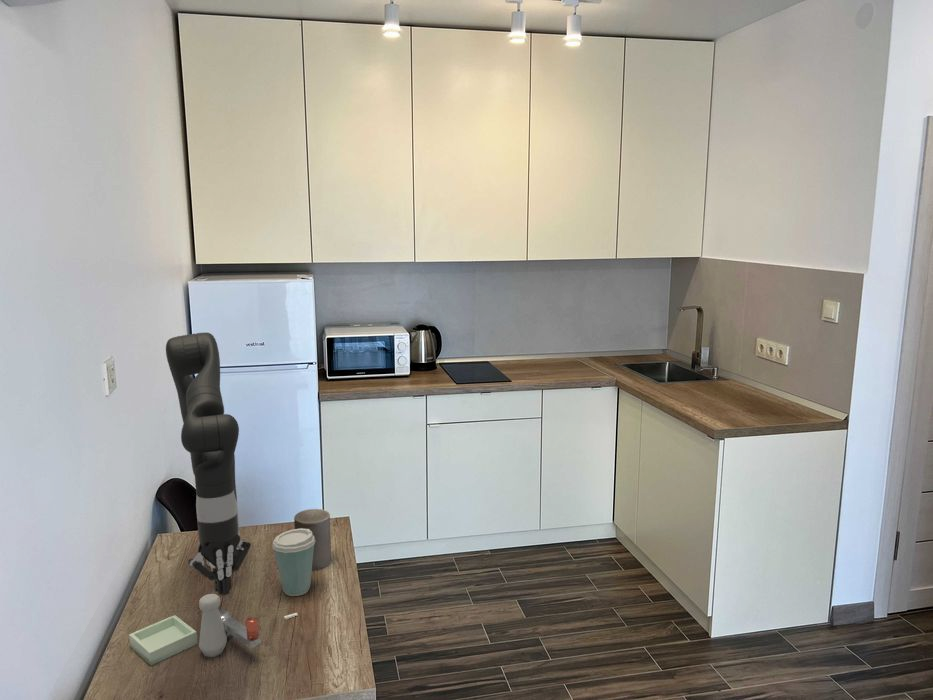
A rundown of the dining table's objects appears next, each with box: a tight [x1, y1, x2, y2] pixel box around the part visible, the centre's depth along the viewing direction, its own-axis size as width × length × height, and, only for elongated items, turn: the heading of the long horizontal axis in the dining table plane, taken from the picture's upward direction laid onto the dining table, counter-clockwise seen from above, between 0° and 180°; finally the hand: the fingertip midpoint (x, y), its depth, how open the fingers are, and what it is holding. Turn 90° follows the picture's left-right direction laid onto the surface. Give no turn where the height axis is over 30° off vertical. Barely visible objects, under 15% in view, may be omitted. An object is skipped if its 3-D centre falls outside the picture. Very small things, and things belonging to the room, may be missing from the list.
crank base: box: [225, 631, 234, 642], centre depth 159 cm, size 4×4×2 cm
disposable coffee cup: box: [272, 528, 315, 597], centre depth 178 cm, size 11×11×15 cm
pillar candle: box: [293, 508, 332, 571], centre depth 193 cm, size 10×10×15 cm
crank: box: [218, 607, 261, 650], centre depth 155 cm, size 20×4×7 cm, turn 48°
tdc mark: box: [283, 612, 299, 620], centre depth 167 cm, size 3×1×1 cm, turn 120°
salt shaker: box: [198, 593, 228, 658], centre depth 152 cm, size 6×6×13 cm
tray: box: [128, 614, 199, 667], centre depth 156 cm, size 10×10×3 cm
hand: (223, 593), depth 143 cm, fingers closed
